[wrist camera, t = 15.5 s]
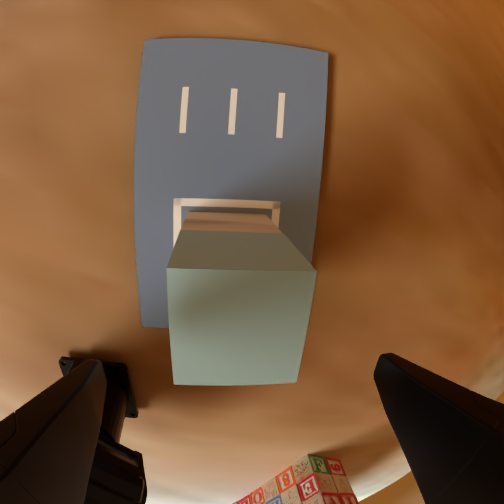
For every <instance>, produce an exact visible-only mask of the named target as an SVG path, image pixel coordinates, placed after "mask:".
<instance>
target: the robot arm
mask: <svg viewBox="0 0 504 504" xmlns="http://www.w3.org/2000/svg"><path fill="white" fill-rule="evenodd" d="M64 362H65V363H64ZM59 365H60V368H61V371H62V373H63V377H62V378H61V379H59V380H58V381H56V382H55V383H54V384H52V385H51V386H49V387H48V388H47V389H45V390H44V391H42V392H41V393H40V394H38V395H37V396H35V397H34V398H33V399H31V400H30V401H28V402H27V403H26V404H24V405H23V406H21V407H20V408H19V409H17V410H16V411H15V413H14V412H13V413H12V414H10V415H9V416H7V417H6V418H5V419H3V420H2V421H0V504H145V502H146V498H147V486H146V479H145V473H144V466H143V458H142V454H141V453H139V452H137V451H133V450H131V449H129V448H127V447H125V446H123V445H121V444H119V441H120V437H121V432H122V428H123V423H124V419H125V417H129V418H137V417H138V413H139V412H138V408H137V404H136V400H135V396H134V392H133V387H132V383H131V379H130V374H129V369H128V367H127V365H125V364H123V363H113V362H103V361H99V360H94V359H88V360H85V359H77V358H70V357H61V358H60V360H59ZM121 369H123V370H121ZM374 381H375V383H376V386H377V389H378V392H379V395H380V398H381V401H382V404H383V407H384V409H385V412H386V415H387V417H388V419H389V421H390V424H391V426H392V428H393V430H394V432H395V434H396V437H397V439H398V441H399V443H400V445H401V448H402V450H403V452H404V454H405V457H406V459H407V461H408V464H409V466H410V468H411V470H412V473H413V475H414V477H415V480H416V482H417V485H418V487H419V489H420V492H421V494H422V497H423V499H424V501H425V504H504V404H503V403H500V402H497V401H495V400H492V399H489V398H487V397H485V396H482V395H480V394H478V393H476V392H474V391H470V390H469V389H467V388H465V387H463V386H460V385H458V384H456V383H454V382H452V381H450V380H448V379H445V378H443V377H441V376H439V375H437V374H435V373H433V372H431V371H429V370H427V369H424V368H422V367H420V366H418V365H416V364H414V363H412V362H410V361H408V360H406V359H404V358H402V357H400V356H398V355H395V354H393V353H385V354H382V355H380V357H379V359H378V362H377V365H376V368H375V371H374Z"/></svg>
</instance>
